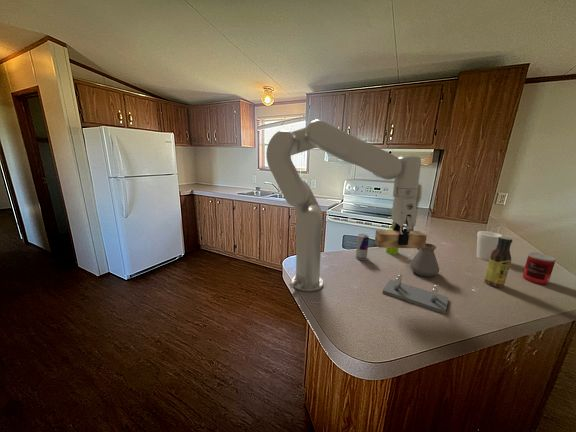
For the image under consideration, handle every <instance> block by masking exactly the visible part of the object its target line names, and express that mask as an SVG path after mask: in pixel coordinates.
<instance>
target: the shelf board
mask: <svg viewBox="0 0 576 432" xmlns="http://www.w3.org/2000/svg"><path fill="white" fill-rule="evenodd" d="M399 234H400V231H394V230H389V229H388V230H386V229H380V230H379V229H377V230H375V237H374V243H375V245H376V246H377V247H378V248H381V249H382V248H383V249H384V248H385V249H386V248H398V249H416V248H420V249H425V244H426V243H427V234H426V233H424V232H422V231H421V230H411V231H410V234H409V239H408V245H399V244H398V239H399Z"/></svg>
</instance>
